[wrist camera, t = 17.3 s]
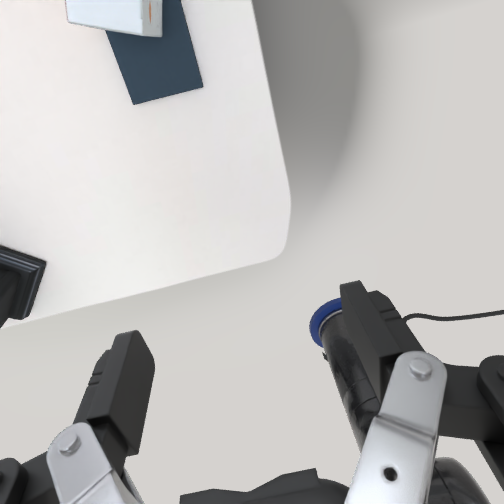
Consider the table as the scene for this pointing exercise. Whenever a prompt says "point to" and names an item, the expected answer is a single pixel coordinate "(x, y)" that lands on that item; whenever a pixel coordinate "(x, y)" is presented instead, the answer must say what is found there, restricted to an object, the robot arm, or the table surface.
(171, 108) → the table surface
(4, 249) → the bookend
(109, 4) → the small box
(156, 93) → the side mat
